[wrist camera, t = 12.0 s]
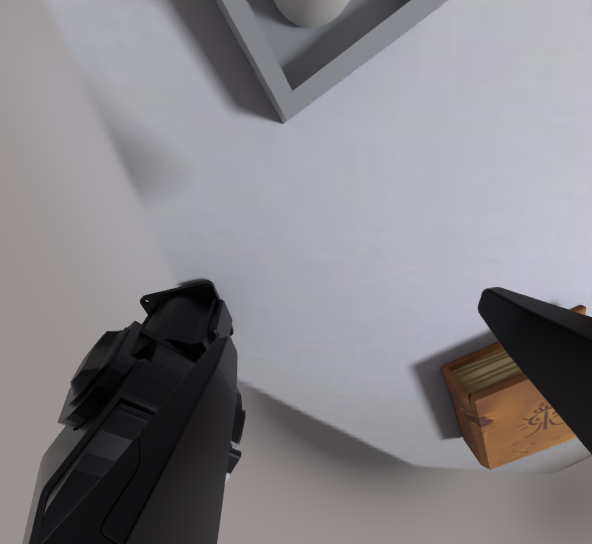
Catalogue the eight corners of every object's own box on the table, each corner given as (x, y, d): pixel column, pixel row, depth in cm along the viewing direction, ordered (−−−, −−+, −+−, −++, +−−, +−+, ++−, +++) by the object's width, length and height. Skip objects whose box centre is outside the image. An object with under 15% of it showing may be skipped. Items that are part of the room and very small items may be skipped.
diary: (436, 363, 33) (468, 403, 28) (575, 302, 30) (638, 333, 25) (460, 434, 43) (486, 473, 38) (564, 393, 41) (606, 428, 36)
